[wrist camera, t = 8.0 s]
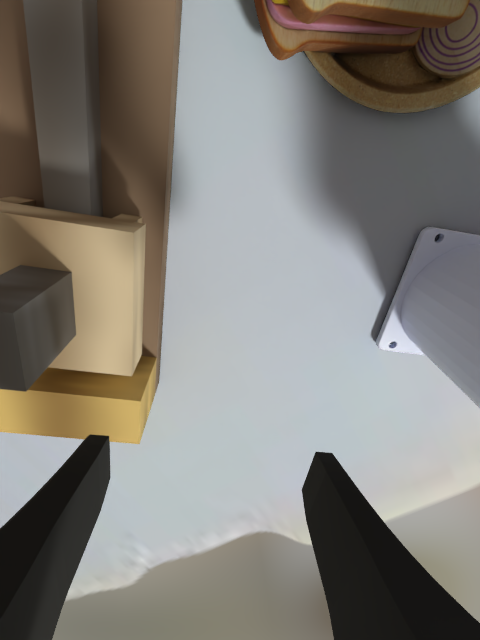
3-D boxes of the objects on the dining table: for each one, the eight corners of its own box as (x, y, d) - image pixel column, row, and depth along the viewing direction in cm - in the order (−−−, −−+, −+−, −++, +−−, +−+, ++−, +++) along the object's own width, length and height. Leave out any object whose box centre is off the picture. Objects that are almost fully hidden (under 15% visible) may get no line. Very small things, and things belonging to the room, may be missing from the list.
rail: (202, -327, 10) (176, -797, 5) (159, 381, 22) (139, 443, 17) (-72, -419, 9) (-413, -1077, 4) (38, 368, 21) (-18, 430, 17)
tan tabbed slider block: (152, 218, 16) (96, 260, 9) (148, 340, 19) (103, 440, 12) (1, 194, 15) (-183, 221, 8) (22, 325, 18) (-100, 422, 11)
